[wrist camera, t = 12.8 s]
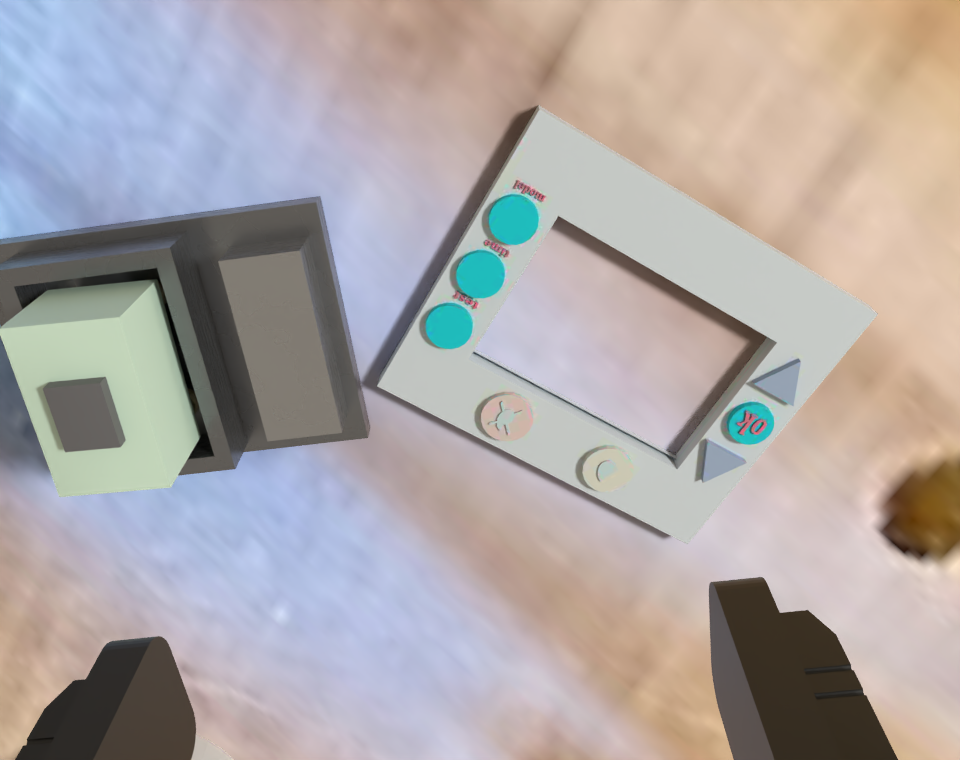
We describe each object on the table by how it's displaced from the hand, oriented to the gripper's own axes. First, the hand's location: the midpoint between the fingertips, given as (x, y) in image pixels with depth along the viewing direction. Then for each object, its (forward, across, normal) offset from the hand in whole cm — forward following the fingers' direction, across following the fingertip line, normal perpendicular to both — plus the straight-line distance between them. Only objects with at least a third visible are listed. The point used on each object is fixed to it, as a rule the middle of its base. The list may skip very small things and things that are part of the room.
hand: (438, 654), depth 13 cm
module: (+28, +17, +6) cm, 33 cm away
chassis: (+30, +15, +6) cm, 34 cm away
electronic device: (+31, -6, +9) cm, 33 cm away
